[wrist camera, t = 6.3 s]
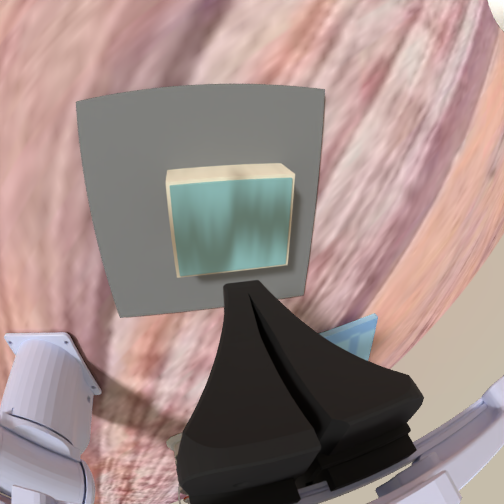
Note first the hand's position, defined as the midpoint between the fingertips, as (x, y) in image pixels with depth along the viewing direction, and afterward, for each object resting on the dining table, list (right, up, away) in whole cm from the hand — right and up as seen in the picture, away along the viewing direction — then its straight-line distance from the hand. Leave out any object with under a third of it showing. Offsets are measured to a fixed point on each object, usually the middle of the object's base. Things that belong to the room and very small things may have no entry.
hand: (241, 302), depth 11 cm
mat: (-3, +5, +8) cm, 9 cm away
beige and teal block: (-4, +4, +6) cm, 8 cm away
